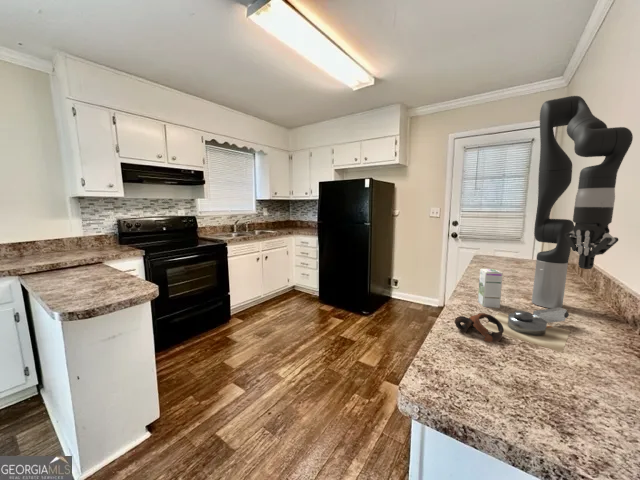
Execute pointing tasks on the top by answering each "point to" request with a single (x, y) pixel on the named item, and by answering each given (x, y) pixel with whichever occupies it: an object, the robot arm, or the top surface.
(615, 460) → the top surface
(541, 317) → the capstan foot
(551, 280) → the robot arm
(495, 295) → the syrup box
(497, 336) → the brown curved loop piece
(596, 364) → the top surface
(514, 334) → the beige flat square slab
